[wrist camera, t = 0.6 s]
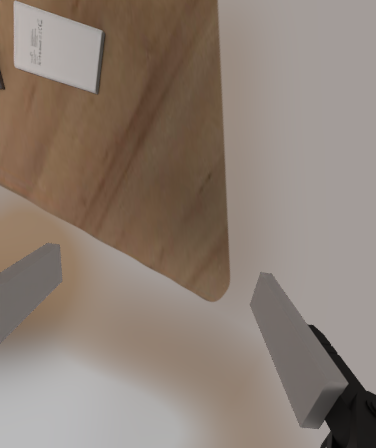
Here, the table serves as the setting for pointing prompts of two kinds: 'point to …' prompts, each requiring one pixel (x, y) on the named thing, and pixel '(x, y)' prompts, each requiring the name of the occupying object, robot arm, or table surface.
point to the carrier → (1, 82)
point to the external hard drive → (57, 47)
